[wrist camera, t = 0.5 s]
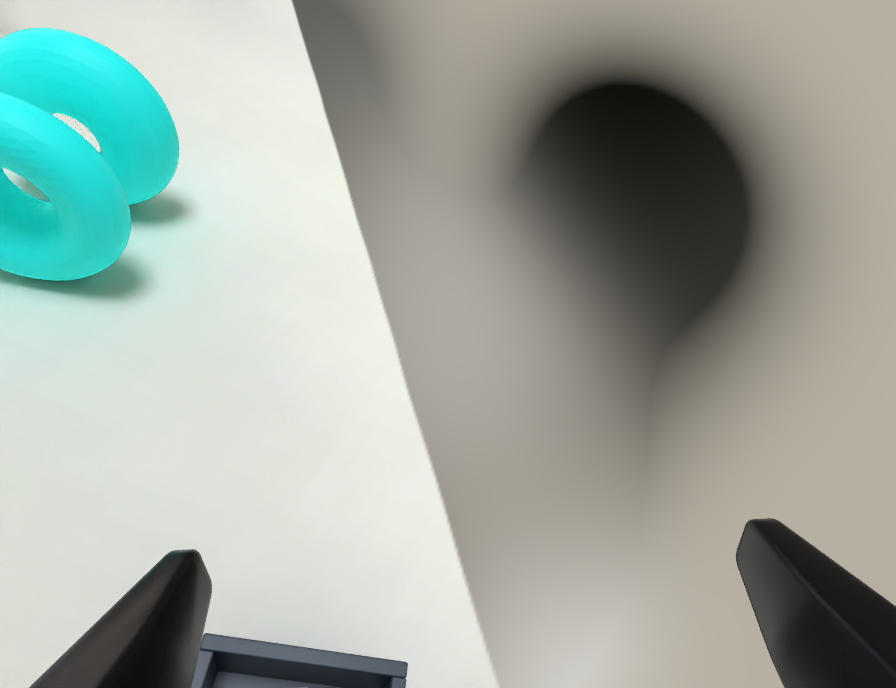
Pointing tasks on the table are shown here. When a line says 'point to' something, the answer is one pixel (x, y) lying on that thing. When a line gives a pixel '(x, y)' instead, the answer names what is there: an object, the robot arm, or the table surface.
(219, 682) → the tote
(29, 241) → the donuts
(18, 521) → the table surface
